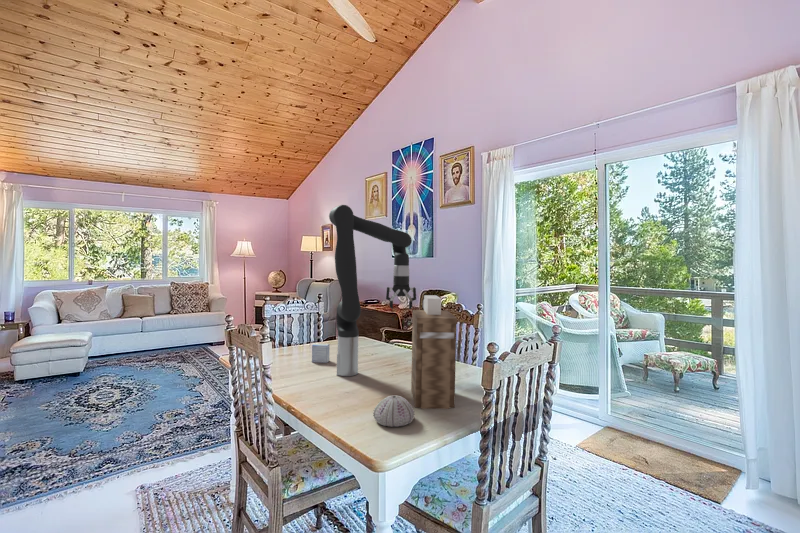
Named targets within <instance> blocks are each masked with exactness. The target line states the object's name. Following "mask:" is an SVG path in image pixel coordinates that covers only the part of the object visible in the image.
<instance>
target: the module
mask: <svg viewBox="0 0 800 533" xmlns="http://www.w3.org/2000/svg"><path fill="white" fill-rule="evenodd" d="M422 309H423V310H424V311H425V312H426V313H427V315H441V310H442V298H441V297H439V296H438V295H437V294H434V295H433V294H432V295H431V294H428V295H427V294H424V295H423V300H422Z"/></svg>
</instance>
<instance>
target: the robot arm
mask: <svg viewBox="0 0 800 533" xmlns="http://www.w3.org/2000/svg"><path fill="white" fill-rule="evenodd" d="M328 217H329V221H330V223H331V224H332V225H334V226H335V229H336V245H335V252H334V265H335V273H336V277H337V280H338V284H339V286H340V290H341V301H340V302H339V303H338V304H337V308H336V329H337V353H336V376H342V377H353V376H357V375H358V374H359V335H360V334H359V333H360V332H359V328H358V325H357V320H358V319H359V318H360V316H361V313H362V309H361V303H360V297H359V290H358V274H357V273H358V272H357V271H358V270H357V257H356V248H355V247H356V246H355V241H354V240H355V239H354V231H357V232H360V233H362V234H365V235H367V236H370V237H372V238H374V239H377V240H379V241H382V242H385V243H390V244H391V245H392V251H393V255H394V257H393V259H394V261H393V263H394V264H393V282H392V284H393V286H392V287H390V286H387V287H386V297H385V299H386V300H387V301H389V308H390V309H392V310H393V309H394V301H393V300H394V299H395V298H396V297H407V298H408V300H409V301H408V309H409V310H412V308H413V301H416V300H417V288H416V287H415V286H413V287H410V255H409V254H408V253H407V250H406V249H407V248H408V247H410V246H411V244H412V241H413V240H412V237H411V235H410V234H409V233H408V232H405V231H401V230H398V229H396V228H392V227H389V226H388V225H384V224H382V223H380V222H377V221H373V220H369V219H364V218H362V217H358V216H357V215H355V214H354V211H353V209H352V208H351V207H350V206H349V205H347V204H340V205H338V206H335V207H333V208H332V209H331V210H330V212H329V215H328ZM410 291H411V292H412V297H411V296H410V294H409V292H410ZM391 292H393V294H392V296H391V297H390V293H391Z"/></svg>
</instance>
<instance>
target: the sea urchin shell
mask: <svg viewBox="0 0 800 533" xmlns="http://www.w3.org/2000/svg"><path fill="white" fill-rule="evenodd" d="M413 407H414V406H412V404H411V403H410V401H408V399H406V398H405V397H403V396H400V395H395V394H394V395H393V394H391V395H387V396H385V398H383V399H381V400H380V401H379V402H378V404H376V406H375V408H374V409H373V412H372V413H373V419H375V421H376V422H377V424H379V425H381V426H384V427H386V426H387V427H391V428H392V427H395V428H396V427H398V428H399V427H404V426H406V425H409V424H410V423H412V421H413V420H414V418H415V410H414V408H413Z"/></svg>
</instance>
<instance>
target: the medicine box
mask: <svg viewBox="0 0 800 533" xmlns="http://www.w3.org/2000/svg"><path fill="white" fill-rule="evenodd" d="M330 345H331V344H330V343H317V342H316V343H313V344H312V345H311V363H319V364H320V363H322V364H326V363H327V364H328V362H330Z"/></svg>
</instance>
